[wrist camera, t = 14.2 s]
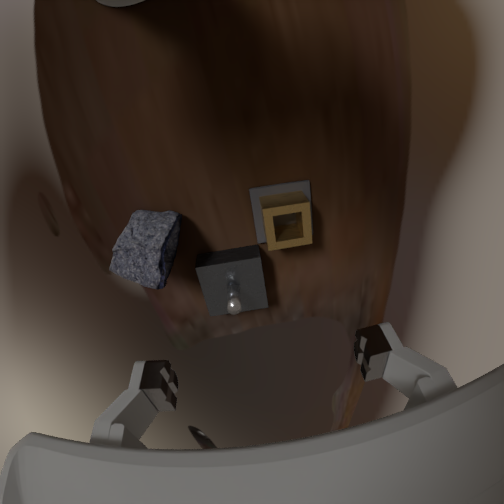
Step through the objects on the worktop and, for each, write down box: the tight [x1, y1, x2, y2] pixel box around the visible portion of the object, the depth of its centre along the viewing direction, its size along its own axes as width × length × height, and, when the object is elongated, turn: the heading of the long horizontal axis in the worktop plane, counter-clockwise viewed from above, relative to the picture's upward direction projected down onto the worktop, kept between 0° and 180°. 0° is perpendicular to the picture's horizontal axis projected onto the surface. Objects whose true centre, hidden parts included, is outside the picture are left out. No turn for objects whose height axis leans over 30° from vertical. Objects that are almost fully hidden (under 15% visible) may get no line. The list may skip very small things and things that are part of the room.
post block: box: [195, 245, 268, 316], centre depth 47 cm, size 10×10×9 cm
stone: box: [110, 210, 182, 289], centre depth 42 cm, size 12×10×10 cm
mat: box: [249, 180, 313, 243], centre depth 45 cm, size 9×9×1 cm
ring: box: [259, 191, 312, 251], centre depth 43 cm, size 6×6×5 cm
